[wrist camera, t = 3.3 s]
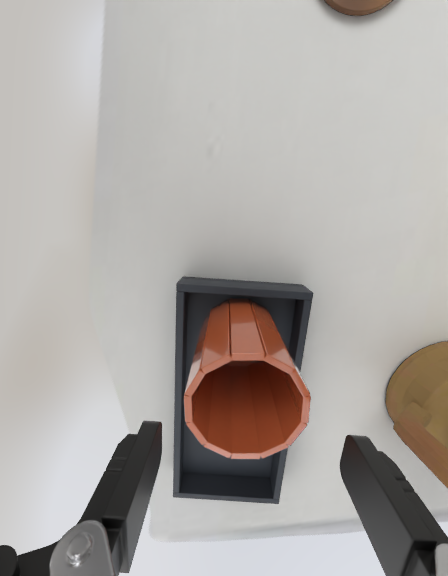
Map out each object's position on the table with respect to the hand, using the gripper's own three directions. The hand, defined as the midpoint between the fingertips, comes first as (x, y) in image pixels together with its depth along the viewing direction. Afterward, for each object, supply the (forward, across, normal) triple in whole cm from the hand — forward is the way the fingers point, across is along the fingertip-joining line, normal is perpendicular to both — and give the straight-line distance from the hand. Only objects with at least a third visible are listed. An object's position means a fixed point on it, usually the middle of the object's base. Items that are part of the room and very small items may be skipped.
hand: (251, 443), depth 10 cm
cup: (+11, 0, 0) cm, 11 cm away
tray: (+12, 0, +6) cm, 13 cm away
